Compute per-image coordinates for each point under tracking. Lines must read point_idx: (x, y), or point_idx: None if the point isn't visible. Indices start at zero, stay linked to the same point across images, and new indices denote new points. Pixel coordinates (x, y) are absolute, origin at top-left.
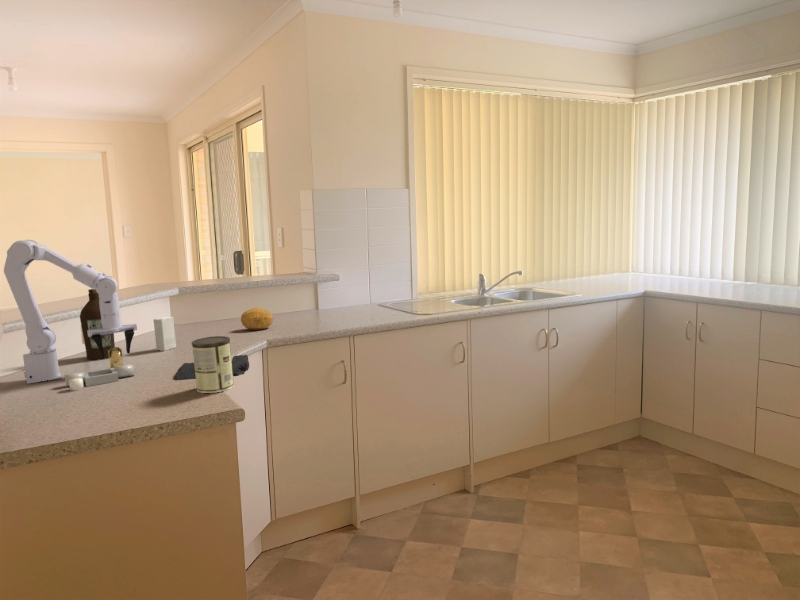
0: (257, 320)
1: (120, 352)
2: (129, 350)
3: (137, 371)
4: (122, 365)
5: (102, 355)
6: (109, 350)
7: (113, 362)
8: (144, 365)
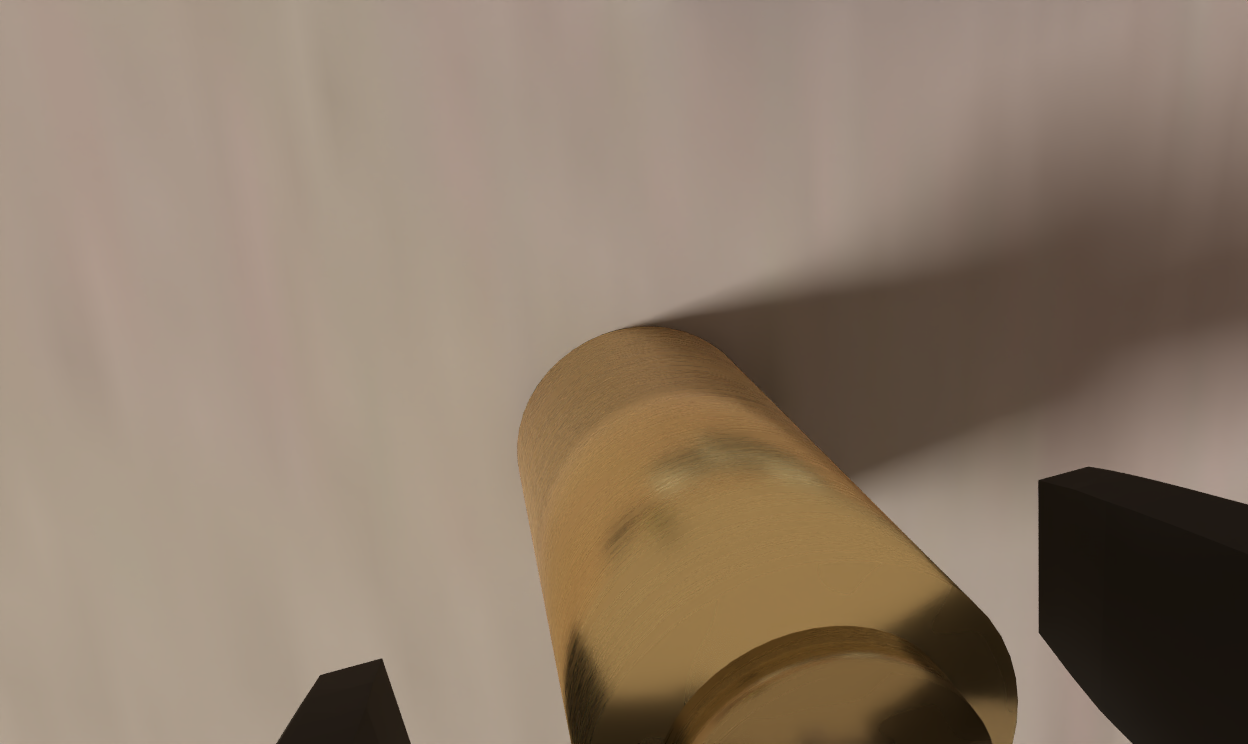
0: None
1: (604, 611)
2: (292, 721)
3: (169, 94)
4: (541, 441)
5: (1127, 478)
6: (977, 713)
7: (753, 404)
8: (116, 627)
